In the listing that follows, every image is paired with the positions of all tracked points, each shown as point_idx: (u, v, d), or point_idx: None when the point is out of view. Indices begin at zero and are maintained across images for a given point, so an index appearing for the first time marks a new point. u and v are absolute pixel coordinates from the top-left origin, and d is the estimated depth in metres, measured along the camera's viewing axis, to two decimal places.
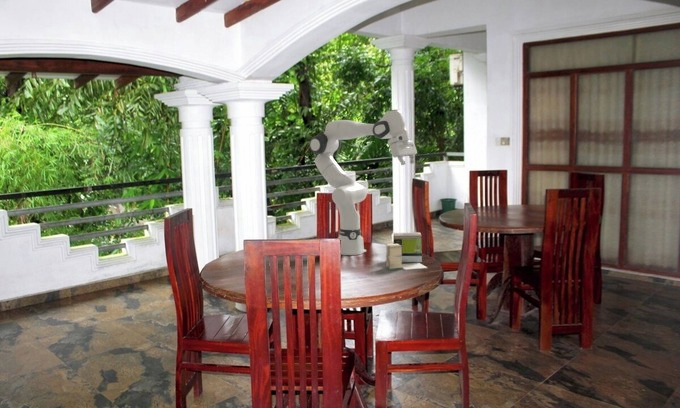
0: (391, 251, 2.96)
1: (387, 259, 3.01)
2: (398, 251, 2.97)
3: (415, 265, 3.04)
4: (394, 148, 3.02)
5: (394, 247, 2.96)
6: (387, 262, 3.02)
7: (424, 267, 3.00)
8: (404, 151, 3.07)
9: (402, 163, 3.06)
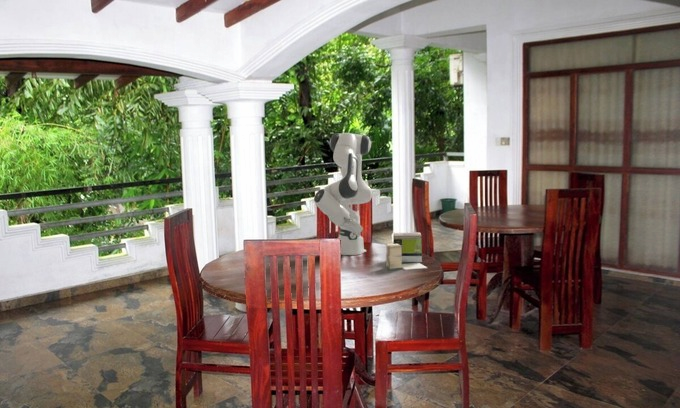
0: (391, 251, 2.96)
1: (387, 259, 3.01)
2: (398, 251, 2.97)
3: (415, 265, 3.04)
4: None
5: (394, 247, 2.96)
6: (387, 262, 3.02)
7: (424, 267, 3.00)
8: (344, 228, 2.90)
9: None
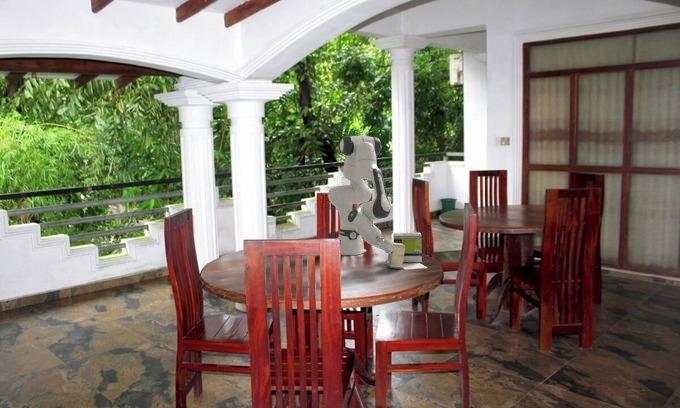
0: (394, 249, 2.97)
1: (388, 256, 3.01)
2: (401, 250, 2.98)
3: (415, 265, 3.04)
4: None
5: (398, 246, 2.97)
6: (388, 260, 3.02)
7: (424, 267, 3.00)
8: (376, 246, 2.99)
9: None
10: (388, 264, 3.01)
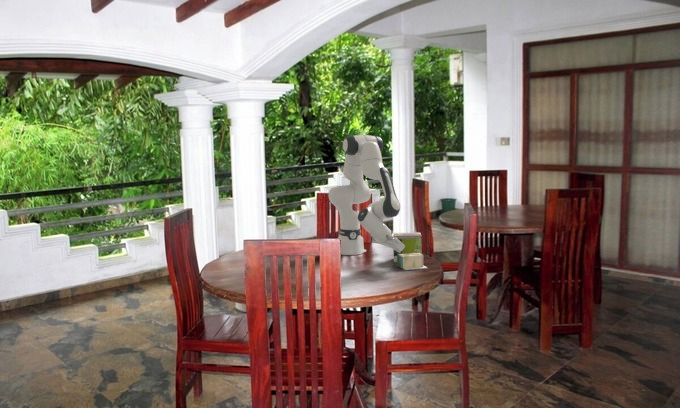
0: (418, 256, 3.00)
1: (406, 254, 3.04)
2: (418, 263, 3.01)
3: None
4: None
5: (422, 259, 3.01)
6: (402, 254, 3.03)
7: (424, 267, 3.00)
8: (385, 245, 3.01)
9: None
10: (400, 255, 3.02)
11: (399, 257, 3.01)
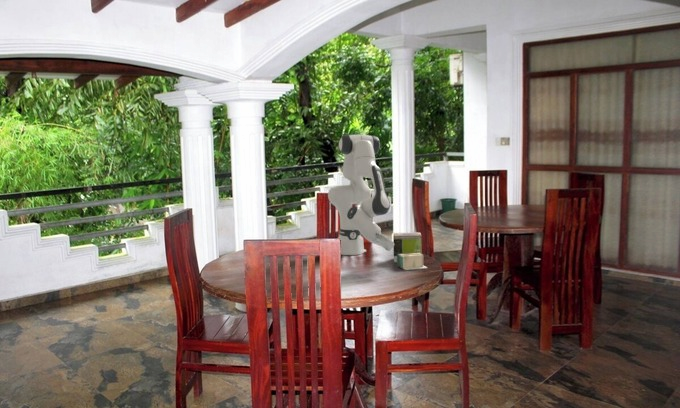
0: (418, 256, 3.00)
1: (406, 254, 3.04)
2: (418, 263, 3.01)
3: None
4: None
5: (422, 259, 3.01)
6: (402, 254, 3.03)
7: (424, 267, 3.00)
8: (375, 243, 2.99)
9: None
10: (400, 255, 3.02)
11: (399, 257, 3.01)
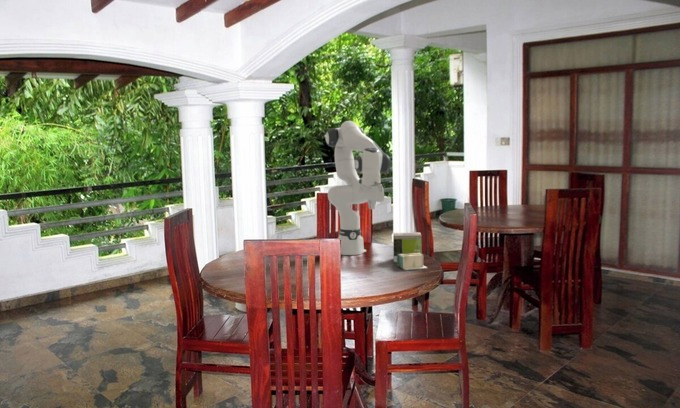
0: (418, 256, 3.00)
1: (406, 254, 3.04)
2: (418, 263, 3.01)
3: None
4: None
5: (422, 259, 3.01)
6: (402, 254, 3.03)
7: (424, 267, 3.00)
8: (365, 195, 2.95)
9: None
10: (400, 255, 3.02)
11: (399, 257, 3.01)
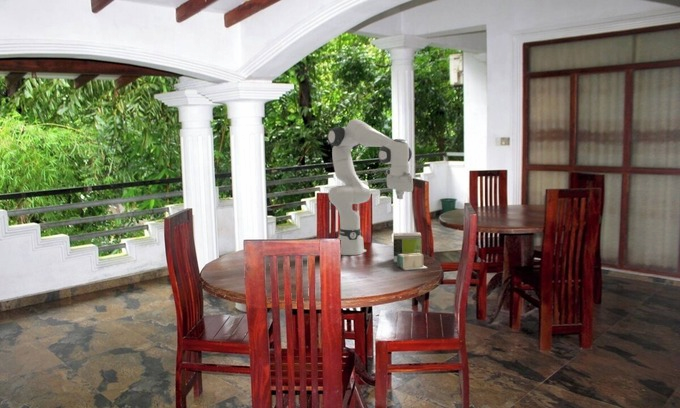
0: (418, 256, 3.00)
1: (406, 254, 3.04)
2: (418, 263, 3.01)
3: None
4: None
5: (422, 259, 3.01)
6: (402, 254, 3.03)
7: (424, 267, 3.00)
8: (393, 185, 3.01)
9: None
10: (400, 255, 3.02)
11: (399, 257, 3.01)
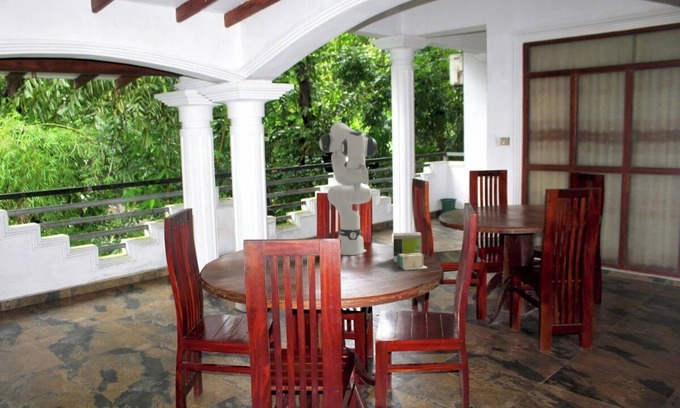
0: (418, 256, 3.00)
1: (406, 254, 3.04)
2: (418, 263, 3.01)
3: None
4: None
5: (422, 259, 3.01)
6: (402, 254, 3.03)
7: (424, 267, 3.00)
8: (350, 178, 3.01)
9: None
10: (400, 255, 3.02)
11: (399, 257, 3.01)
